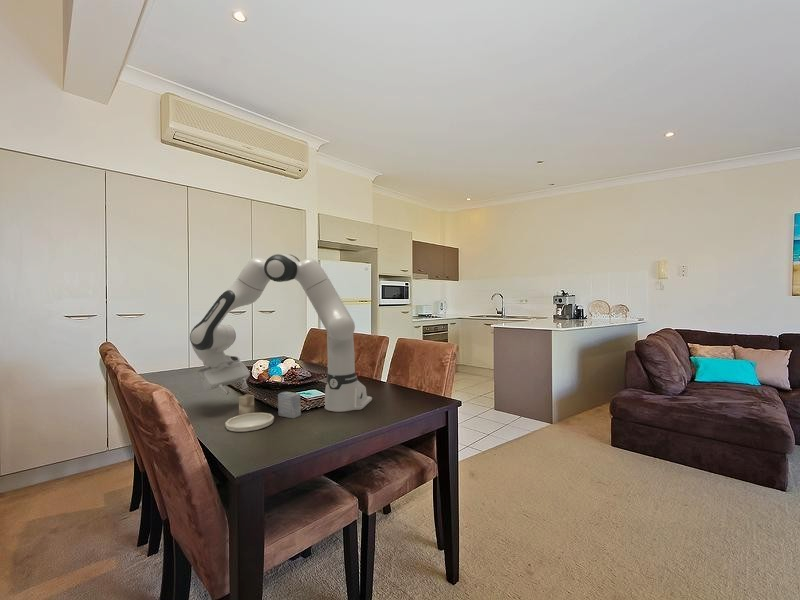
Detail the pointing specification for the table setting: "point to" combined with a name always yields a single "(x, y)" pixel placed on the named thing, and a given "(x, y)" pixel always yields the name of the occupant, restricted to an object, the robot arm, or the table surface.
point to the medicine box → (289, 404)
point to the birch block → (246, 404)
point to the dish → (249, 422)
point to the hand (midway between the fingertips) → (236, 391)
